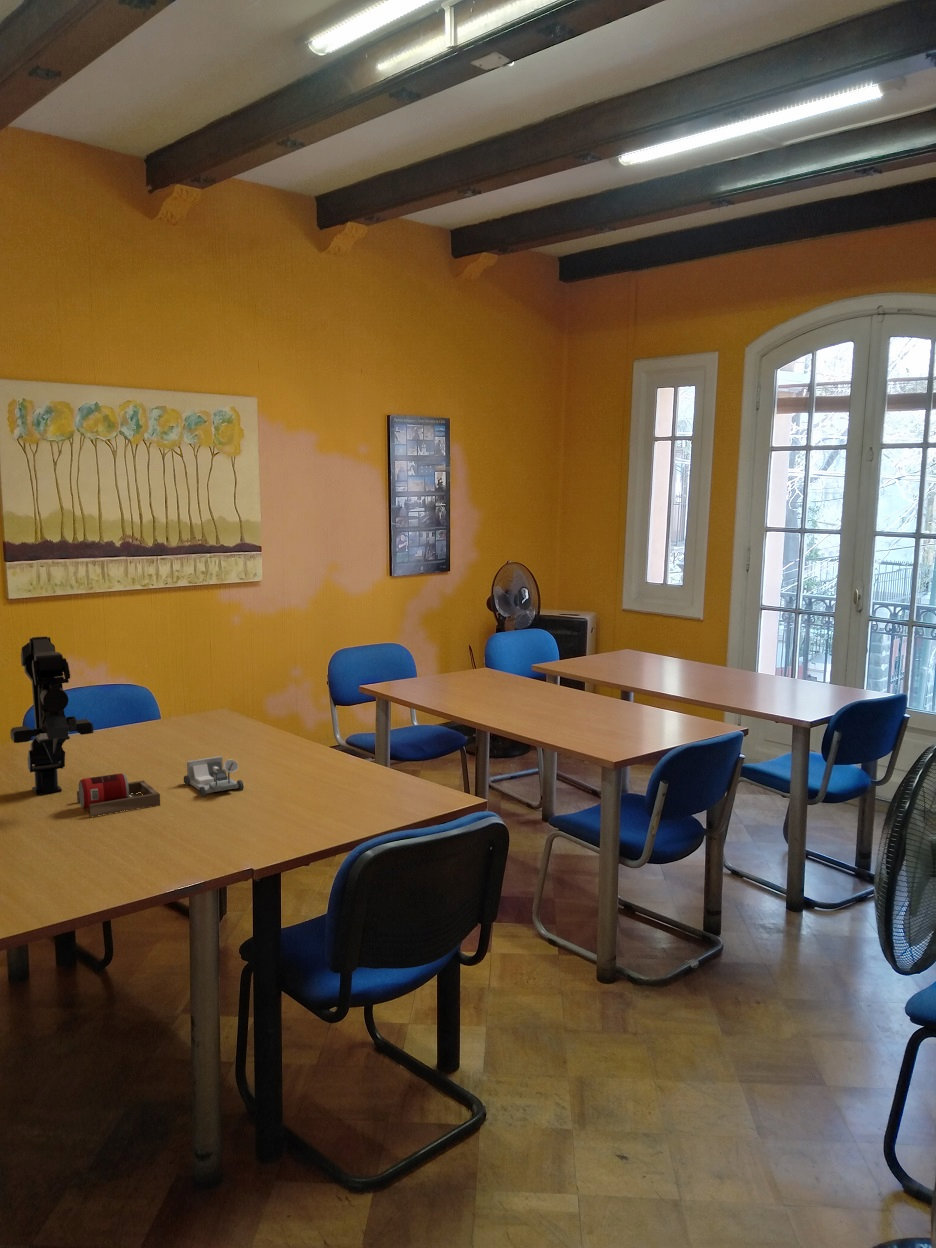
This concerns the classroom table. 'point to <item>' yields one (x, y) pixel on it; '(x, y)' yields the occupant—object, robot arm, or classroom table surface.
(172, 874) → the classroom table surface
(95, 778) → the canned food
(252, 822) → the classroom table surface
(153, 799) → the cradle
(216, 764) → the toy car
